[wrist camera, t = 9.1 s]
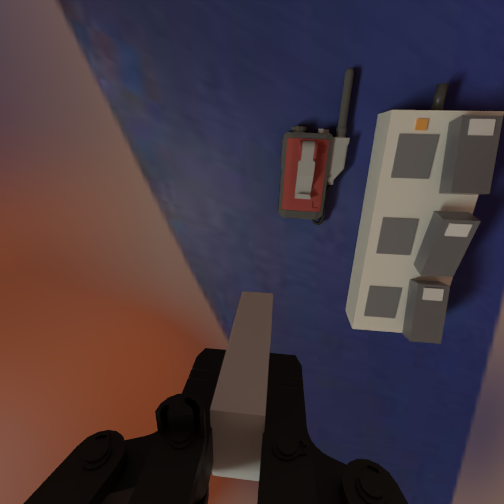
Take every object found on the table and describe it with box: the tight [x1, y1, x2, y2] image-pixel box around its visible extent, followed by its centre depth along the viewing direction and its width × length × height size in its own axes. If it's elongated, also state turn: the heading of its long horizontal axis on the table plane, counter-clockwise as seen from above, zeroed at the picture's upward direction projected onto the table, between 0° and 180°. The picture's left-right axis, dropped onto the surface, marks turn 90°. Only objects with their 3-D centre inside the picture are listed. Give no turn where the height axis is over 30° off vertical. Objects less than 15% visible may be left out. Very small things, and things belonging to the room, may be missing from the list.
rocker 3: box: [402, 280, 450, 344], centre depth 38 cm, size 8×4×3 cm, turn 179°
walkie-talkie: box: [278, 68, 354, 225], centre depth 38 cm, size 9×4×20 cm
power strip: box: [345, 83, 504, 333], centre depth 39 cm, size 33×12×5 cm, turn 179°
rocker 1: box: [439, 115, 503, 195], centre depth 31 cm, size 8×4×3 cm, turn 179°
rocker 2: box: [413, 211, 481, 277], centre depth 35 cm, size 8×4×3 cm, turn 178°
